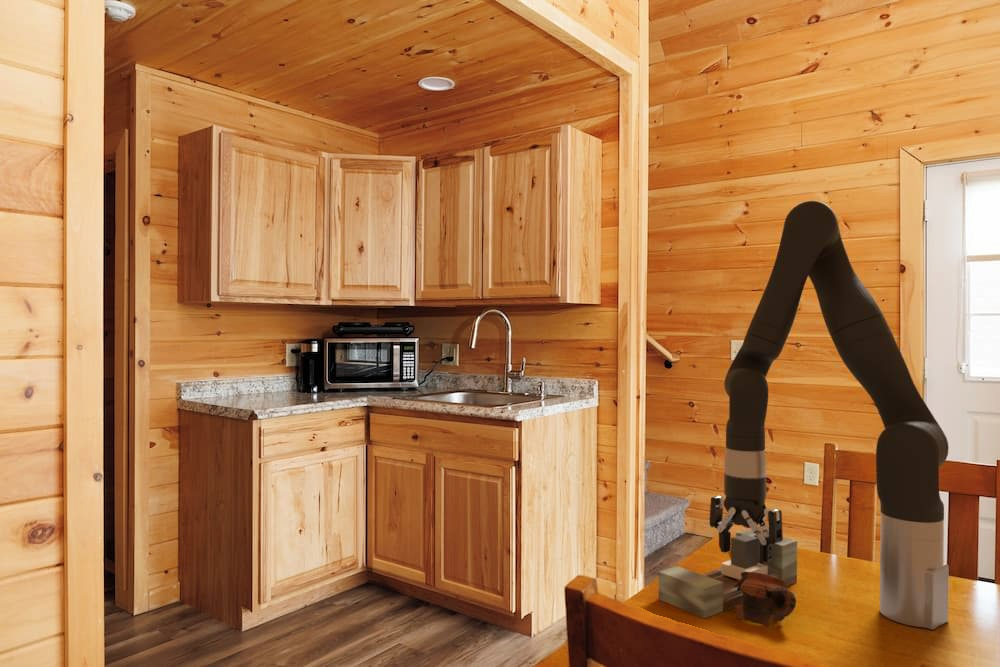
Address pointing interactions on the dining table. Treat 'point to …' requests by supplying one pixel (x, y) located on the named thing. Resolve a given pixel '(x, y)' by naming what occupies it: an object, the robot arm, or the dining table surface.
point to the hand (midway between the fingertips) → (744, 557)
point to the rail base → (722, 581)
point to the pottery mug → (763, 598)
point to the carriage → (743, 557)
